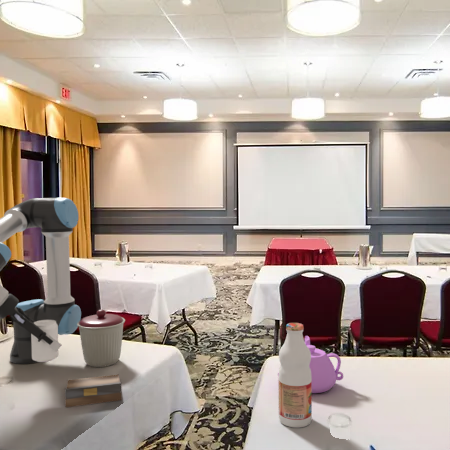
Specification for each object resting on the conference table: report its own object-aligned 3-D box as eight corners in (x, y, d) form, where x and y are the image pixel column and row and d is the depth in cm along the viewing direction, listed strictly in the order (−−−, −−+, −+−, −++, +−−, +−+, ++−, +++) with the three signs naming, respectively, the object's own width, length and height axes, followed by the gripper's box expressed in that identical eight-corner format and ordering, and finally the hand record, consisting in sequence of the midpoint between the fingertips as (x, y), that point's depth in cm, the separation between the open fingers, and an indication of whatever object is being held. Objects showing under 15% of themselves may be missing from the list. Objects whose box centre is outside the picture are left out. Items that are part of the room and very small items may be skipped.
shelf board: (67, 387, 160) (67, 371, 160) (118, 381, 165) (118, 365, 165) (65, 407, 145) (64, 390, 144) (121, 400, 149) (121, 383, 149)
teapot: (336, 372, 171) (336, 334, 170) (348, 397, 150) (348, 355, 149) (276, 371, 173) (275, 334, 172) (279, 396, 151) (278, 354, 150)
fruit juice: (272, 416, 137) (272, 322, 136) (300, 410, 141) (300, 319, 139) (288, 431, 129) (288, 331, 127) (318, 424, 132) (318, 327, 130)
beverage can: (49, 364, 148) (48, 326, 147) (26, 362, 150) (25, 325, 149) (63, 355, 156) (62, 320, 155) (41, 353, 158) (40, 318, 157)
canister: (88, 354, 193) (87, 304, 192) (131, 355, 192) (130, 304, 191) (70, 370, 175) (68, 315, 174) (117, 371, 174) (116, 315, 173)
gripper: (-11, 305, 152) (43, 346, 162) (-7, 318, 136) (53, 363, 145) (6, 287, 155) (59, 329, 164) (13, 298, 138) (71, 343, 147)
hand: (56, 345), depth 154 cm, fingers closed on beverage can, 6 cm apart
